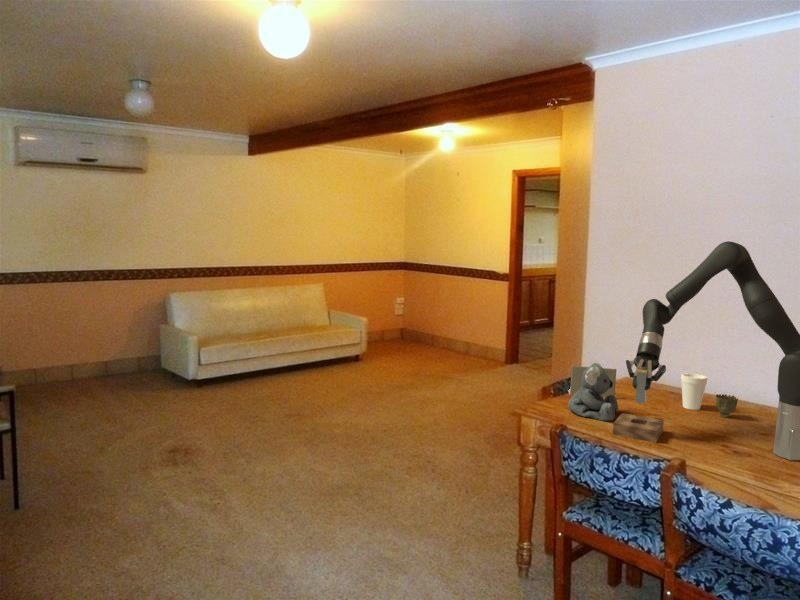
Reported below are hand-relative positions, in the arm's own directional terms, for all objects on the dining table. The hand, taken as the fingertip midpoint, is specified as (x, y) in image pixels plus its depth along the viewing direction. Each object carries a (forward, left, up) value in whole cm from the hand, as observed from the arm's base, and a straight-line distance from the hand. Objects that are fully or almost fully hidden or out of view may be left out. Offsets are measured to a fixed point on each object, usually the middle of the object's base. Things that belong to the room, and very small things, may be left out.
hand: (640, 388), depth 210 cm
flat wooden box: (+2, -1, -16) cm, 16 cm away
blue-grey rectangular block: (+2, -1, -5) cm, 6 cm away
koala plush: (+23, +9, -17) cm, 30 cm away
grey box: (+53, +1, -17) cm, 55 cm away
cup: (+26, -43, -17) cm, 53 cm away
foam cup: (+37, -35, -17) cm, 53 cm away
